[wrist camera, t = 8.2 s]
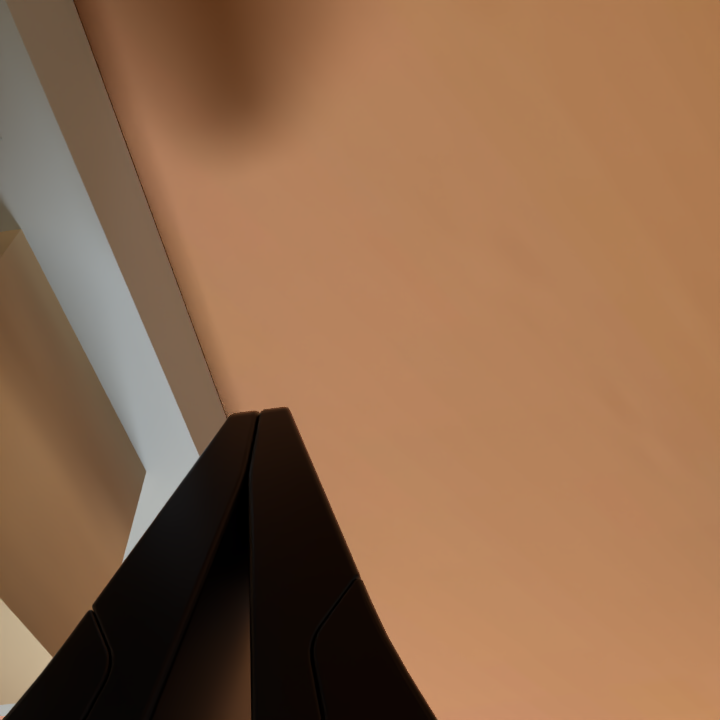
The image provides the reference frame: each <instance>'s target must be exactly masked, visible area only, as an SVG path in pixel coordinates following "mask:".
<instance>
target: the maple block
mask: <svg viewBox="0 0 720 720" xmlns="http://www.w3.org/2000/svg"><path fill="white" fill-rule="evenodd" d="M145 475H146V470H145V468H144V466H143V464H142V462H141V460H140V458H139V456H138V454H137V452H136V450H135V448H134V447H133V445H132V443H131V441H130V439H129V437H128V435H127V433H126V431H125V429H124V427H123V425H122V423H121V421H120V419H119V417H118V416H117V414H116V412H115V410H114V408H113V406H112V404H111V402H110V400H109V398H108V396H107V394H106V392H105V390H104V388H103V386H102V384H101V383H100V381H99V379H98V377H97V375H96V373H95V371H94V369H93V367H92V365H91V363H90V361H89V359H88V357H87V355H86V353H85V352H84V350H83V348H82V346H81V344H80V342H79V340H78V338H77V336H76V334H75V332H74V330H73V328H72V326H71V324H70V322H69V321H68V319H67V317H66V315H65V313H64V311H63V309H62V307H61V305H60V303H59V301H58V299H57V297H56V295H55V293H54V291H53V289H52V288H51V286H50V284H49V282H48V280H47V278H46V276H45V274H44V272H43V270H42V268H41V266H40V264H39V262H38V260H37V258H36V257H35V255H34V253H33V251H32V249H31V247H30V245H29V243H28V241H27V239H26V237H25V235H24V233H23V231H22V229H17V230H10V231H4V232H0V705H5V704H15V703H17V701H18V700H19V699H20V698H21V697H22V695H23V694H24V693H25V692H26V691H27V689H28V688H29V687H30V686H31V685H32V683H33V682H34V681H35V680H36V679H37V677H38V676H39V675H40V674H41V673H42V671H43V670H44V669H45V667H46V666H47V665H48V663H49V662H50V661H51V659H52V658H53V657H54V655H55V654H56V653H57V651H58V650H59V649H60V648H61V646H62V645H63V644H64V642H65V641H66V640H67V638H68V637H69V636H70V634H71V633H72V632H73V630H74V629H75V627H76V626H77V625H78V623H79V622H80V621H81V619H82V618H83V616H84V615H85V614H86V612H87V611H88V610H93V609H92V605H93V603H94V602H95V600H96V599H97V598H98V596H99V595H100V593H101V592H102V591H103V589H104V588H105V587H106V585H107V584H108V582H109V581H110V580H111V578H112V577H113V576H114V574H115V573H116V571H117V570H118V569H119V567H120V566H121V564H122V562H123V558H124V554H125V550H126V547H127V543H128V539H129V535H130V532H131V528H132V524H133V520H134V516H135V513H136V509H137V505H138V501H139V498H140V494H141V490H142V486H143V483H144V479H145Z"/></svg>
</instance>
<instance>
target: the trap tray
mask: <svg viewBox="0 0 720 720" xmlns="http://www.w3.org/2000/svg"><path fill="white" fill-rule="evenodd" d="M17 229H22V231H23V233H24V235H25V237H26V239H27V241H28V243H29V245H30V247H31V249H32V251H33V253H34V255H35V257H36V258H37V260H38V262H39V264H40V266H41V268H42V270H43V272H44V274H45V276H46V278H47V280H48V282H49V284H50V286H51V288H52V289H53V291H54V293H55V295H56V297H57V299H58V301H59V303H60V305H61V307H62V309H63V311H64V313H65V315H66V317H67V319H68V321H69V322H70V324H71V326H72V328H73V330H74V332H75V334H76V336H77V338H78V340H79V342H80V344H81V346H82V348H83V350H84V352H85V353H86V355H87V357H88V359H89V361H90V363H91V365H92V367H93V369H94V371H95V373H96V375H97V377H98V379H99V381H100V383H101V384H102V386H103V388H104V390H105V392H106V394H107V396H108V398H109V400H110V402H111V404H112V406H113V408H114V410H115V412H116V414H117V416H118V417H119V419H120V421H121V423H122V425H123V427H124V429H125V431H126V433H127V435H128V437H129V439H130V441H131V443H132V445H133V447H134V448H135V450H136V452H137V454H138V456H139V458H140V460H141V462H142V464H143V466H144V468H145V470H146V475H145V479H144V483H143V486H142V490H141V494H140V498H139V501H138V505H137V509H136V513H135V516H134V520H133V524H132V528H131V532H130V535H129V539H128V543H127V547H126V550H125V554H124V558H123V562H124V560H125V559H126V558H127V556H128V555H129V553H130V552H131V551H132V549H133V548H134V547H135V545H136V544H137V542H138V541H139V540H140V538H141V537H142V536H143V534H144V533H145V531H146V530H147V529H148V527H149V526H150V524H151V523H152V522H153V520H154V519H155V518H156V516H157V515H158V513H159V512H160V511H161V509H162V508H163V507H164V505H165V504H166V502H167V501H168V500H169V498H170V497H171V496H172V494H173V493H174V491H175V490H176V489H177V487H178V486H179V485H180V483H181V482H182V480H183V479H184V478H185V476H186V475H187V473H188V472H189V471H190V469H191V468H192V467H193V465H194V464H195V462H196V461H197V460H198V458H199V457H200V456H201V454H202V453H203V451H204V450H205V449H206V447H207V446H208V445H209V443H210V442H211V440H212V439H213V438H214V436H215V435H216V434H217V432H218V431H219V429H220V428H221V427H222V425H223V424H224V422H225V421H226V420H227V418H226V415H225V413H224V410H223V407H222V405H221V402H220V399H219V396H218V394H217V391H216V388H215V385H214V383H213V380H212V377H211V375H210V372H209V369H208V366H207V364H206V361H205V358H204V356H203V353H202V350H201V347H200V345H199V342H198V339H197V336H196V334H195V331H194V328H193V326H192V323H191V320H190V317H189V315H188V312H187V309H186V307H185V304H184V301H183V298H182V296H181V293H180V290H179V287H178V285H177V282H176V279H175V277H174V274H173V271H172V268H171V266H170V263H169V260H168V258H167V255H166V252H165V249H164V247H163V244H162V241H161V238H160V236H159V233H158V230H157V228H156V225H155V222H154V219H153V217H152V214H151V211H150V209H149V206H148V203H147V200H146V198H145V195H144V192H143V189H142V187H141V184H140V181H139V179H138V176H137V173H136V170H135V168H134V165H133V162H132V160H131V157H130V154H129V151H128V149H127V146H126V143H125V140H124V138H123V135H122V132H121V130H120V127H119V124H118V121H117V119H116V116H115V113H114V111H113V108H112V105H111V102H110V100H109V97H108V94H107V91H106V89H105V86H104V83H103V81H102V78H101V75H100V72H99V70H98V67H97V64H96V62H95V59H94V56H93V53H92V51H91V48H90V45H89V42H88V40H87V37H86V34H85V32H84V29H83V26H82V23H81V21H80V18H79V15H78V12H77V10H76V7H75V4H74V2H73V0H0V232H4V231H10V230H17ZM123 562H122V563H123ZM15 704H16V703H15ZM15 704H5V705H0V716H6V715H7V713H8V712H9V711H10V710H11V709H12V707H13V706H14V705H15Z"/></svg>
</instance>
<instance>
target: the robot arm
mask: <svg viewBox="0 0 720 720" xmlns="http://www.w3.org/2000/svg"><path fill="white" fill-rule="evenodd" d="M92 609H93V610H88V611H87V612H86V614H85V615H84V616H83V618H82V619H81V621H80V622H79V623H78V625H77V626H76V627H75V629H74V630H73V632H72V633H71V634H70V636H69V637H68V638H67V640H66V641H65V642H64V644H63V645H62V646H61V648H60V649H59V650H58V651H57V653H56V654H55V655H54V657H53V658H52V659H51V661H50V662H49V663H48V665H47V666H46V667H45V669H44V670H43V671H42V673H41V674H40V675H39V676H38V677H37V679H36V680H35V681H34V682H33V683H32V685H31V686H30V687H29V688H28V689H27V691H26V692H25V693H24V694H23V695H22V697H21V698H20V699H19V700H18V701H17V703H16V704H15V705H14V706H13V707H12V709H11V710H10V711H9V712H8V713H7V715H6V716H5V717H4V718H3V719H2V720H437V718H436V717H435V715H434V713H433V712H432V710H431V708H430V707H429V705H428V704H427V702H426V700H425V699H424V697H423V695H422V694H421V692H420V691H419V689H418V687H417V686H416V684H415V682H414V681H413V679H412V678H411V676H410V674H409V673H408V671H407V669H406V667H405V666H404V664H403V662H402V660H401V659H400V657H399V655H398V653H397V652H396V650H395V648H394V646H393V645H392V643H391V641H390V639H389V637H388V635H387V633H386V631H385V629H384V627H383V625H382V623H381V621H380V619H379V616H378V614H377V612H376V610H375V608H374V606H373V604H372V601H371V599H370V597H369V594H368V592H367V590H366V587H365V585H364V583H363V581H362V580H361V577H360V574H359V572H358V569H357V567H356V565H355V562H354V560H353V557H352V555H351V553H350V550H349V548H348V546H347V543H346V541H345V539H344V536H343V534H342V532H341V529H340V527H339V525H338V522H337V520H336V517H335V515H334V513H333V510H332V508H331V506H330V503H329V501H328V499H327V496H326V494H325V492H324V489H323V487H322V485H321V482H320V480H319V477H318V475H317V473H316V470H315V468H314V466H313V463H312V461H311V459H310V456H309V454H308V452H307V449H306V447H305V445H304V442H303V440H302V437H301V435H300V433H299V430H298V428H297V426H296V423H295V421H294V419H293V416H292V414H291V412H290V410H289V409H288V408H287V407H279V408H271V409H264V410H263V411H261V412H260V413H259V412H257V411H248V412H240V413H234V414H232V415H230V416H229V417H228V418H227V420H226V421H225V422H224V424H223V425H222V427H221V428H220V429H219V431H218V432H217V434H216V435H215V436H214V438H213V439H212V440H211V442H210V443H209V445H208V446H207V447H206V449H205V450H204V451H203V453H202V454H201V456H200V457H199V458H198V460H197V461H196V462H195V464H194V465H193V467H192V468H191V469H190V471H189V472H188V473H187V475H186V476H185V478H184V479H183V480H182V482H181V483H180V485H179V486H178V487H177V489H176V490H175V491H174V493H173V494H172V496H171V497H170V498H169V500H168V501H167V502H166V504H165V505H164V507H163V508H162V509H161V511H160V512H159V513H158V515H157V516H156V518H155V519H154V520H153V522H152V523H151V524H150V526H149V527H148V529H147V530H146V531H145V533H144V534H143V536H142V537H141V538H140V540H139V541H138V542H137V544H136V545H135V547H134V548H133V549H132V551H131V552H130V553H129V555H128V556H127V558H126V559H125V560H124V562H123V563H122V564H121V566H120V567H119V569H118V570H117V571H116V573H115V574H114V576H113V577H112V578H111V580H110V581H109V582H108V584H107V585H106V587H105V588H104V589H103V591H102V592H101V593H100V595H99V596H98V598H97V599H96V600H95V602H94V603H93V605H92Z"/></svg>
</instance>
